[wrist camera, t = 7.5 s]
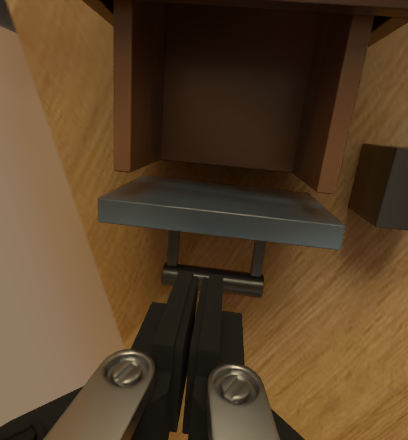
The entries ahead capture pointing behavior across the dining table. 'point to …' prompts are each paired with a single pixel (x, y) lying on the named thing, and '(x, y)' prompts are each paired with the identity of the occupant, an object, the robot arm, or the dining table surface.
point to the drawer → (232, 122)
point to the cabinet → (330, 3)
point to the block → (382, 186)
